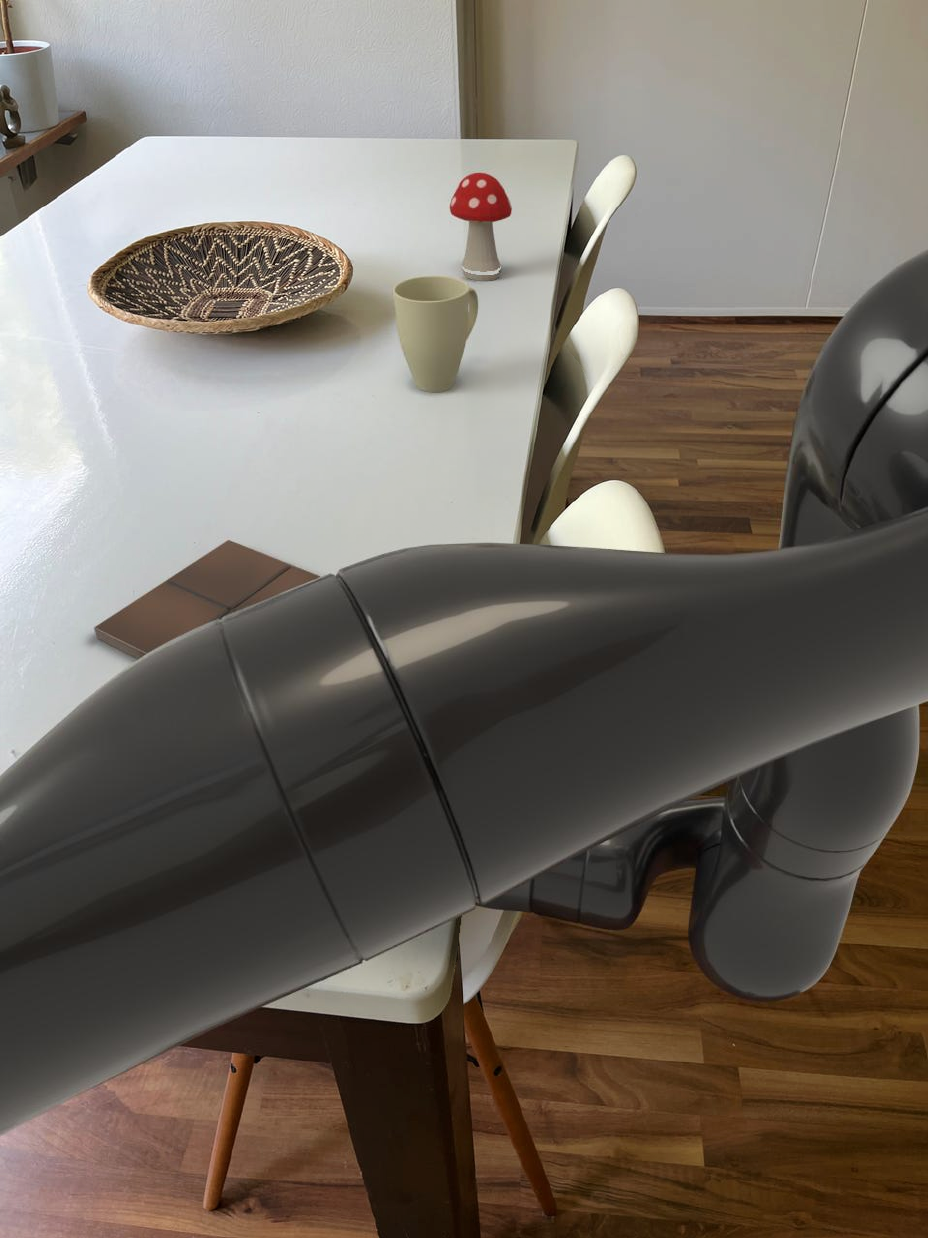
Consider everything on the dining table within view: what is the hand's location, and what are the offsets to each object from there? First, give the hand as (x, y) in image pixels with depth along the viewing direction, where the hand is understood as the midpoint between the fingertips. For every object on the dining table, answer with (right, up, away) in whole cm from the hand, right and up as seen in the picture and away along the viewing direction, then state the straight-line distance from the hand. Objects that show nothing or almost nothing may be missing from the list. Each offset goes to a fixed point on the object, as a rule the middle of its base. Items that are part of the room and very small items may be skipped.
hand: (208, 781), depth 61 cm
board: (-4, +10, +24) cm, 27 cm away
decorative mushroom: (+18, +64, +94) cm, 115 cm away
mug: (+13, +40, +63) cm, 76 cm away
